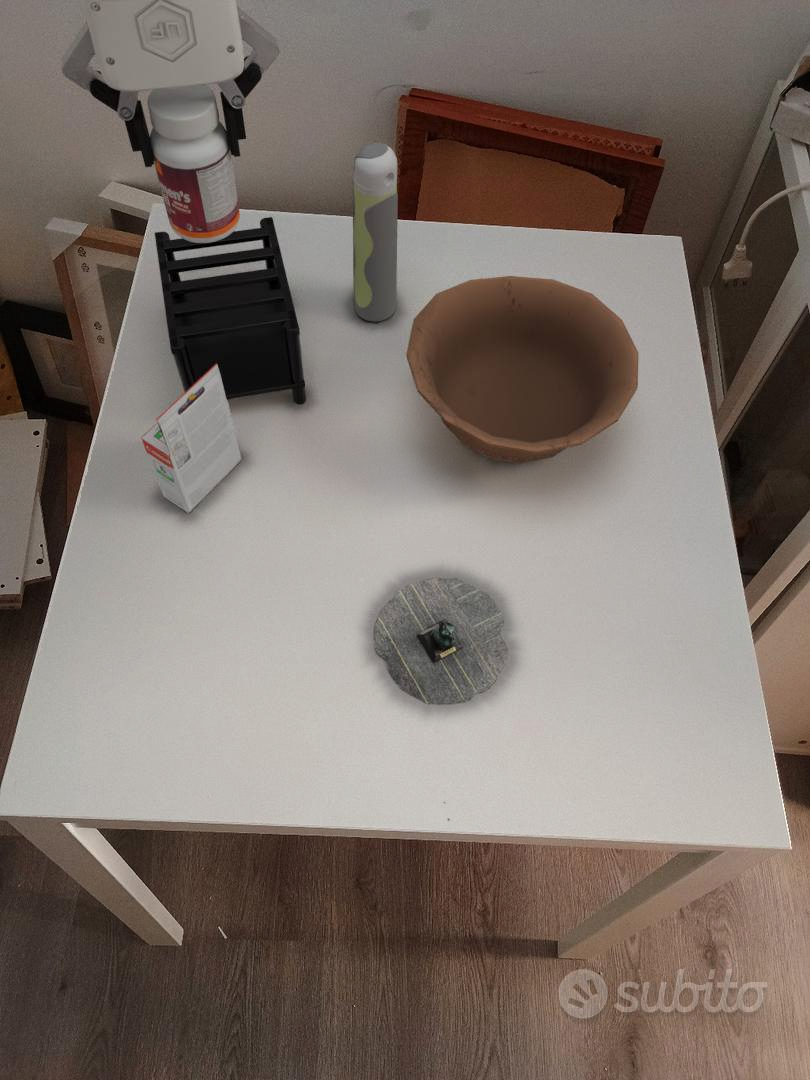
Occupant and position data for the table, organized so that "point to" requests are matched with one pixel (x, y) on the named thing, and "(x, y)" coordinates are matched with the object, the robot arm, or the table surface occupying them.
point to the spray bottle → (375, 232)
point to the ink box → (193, 443)
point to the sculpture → (441, 640)
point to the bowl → (522, 365)
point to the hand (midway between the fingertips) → (191, 149)
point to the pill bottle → (193, 163)
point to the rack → (233, 316)
